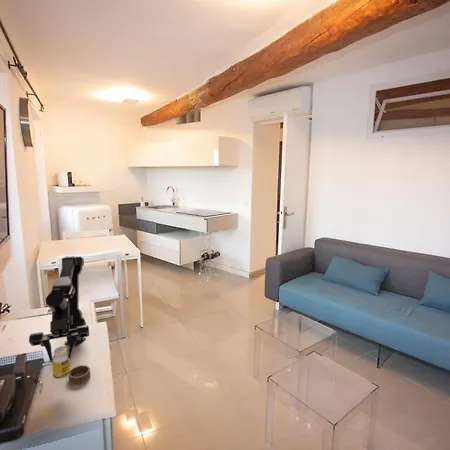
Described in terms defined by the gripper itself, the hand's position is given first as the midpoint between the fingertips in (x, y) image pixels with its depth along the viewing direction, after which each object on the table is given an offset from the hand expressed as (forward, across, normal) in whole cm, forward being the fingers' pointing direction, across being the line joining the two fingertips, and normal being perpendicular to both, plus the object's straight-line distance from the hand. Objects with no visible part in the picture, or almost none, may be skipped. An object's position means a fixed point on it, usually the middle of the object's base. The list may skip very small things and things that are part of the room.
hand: (60, 360), depth 109 cm
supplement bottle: (+4, 0, +6) cm, 7 cm away
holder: (+5, +5, +14) cm, 16 cm away
